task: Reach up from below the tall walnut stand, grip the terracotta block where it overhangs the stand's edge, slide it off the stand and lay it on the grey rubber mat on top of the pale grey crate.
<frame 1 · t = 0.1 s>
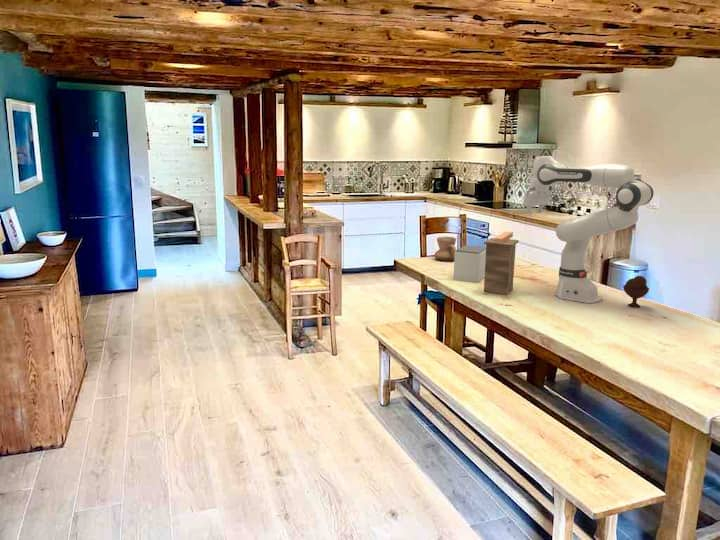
hand: (534, 213, 308), 39 cm above the table, tool pointing down, fingers open, 8 cm apart
terracotta block: (503, 239, 306), point 26 cm above the table, touching walnut stand
walnut stand: (498, 290, 308), on the table
ceramic jug: (446, 260, 381), on the table
ice cream bowl: (633, 306, 282), on the table
grey crate: (470, 277, 335), on the table
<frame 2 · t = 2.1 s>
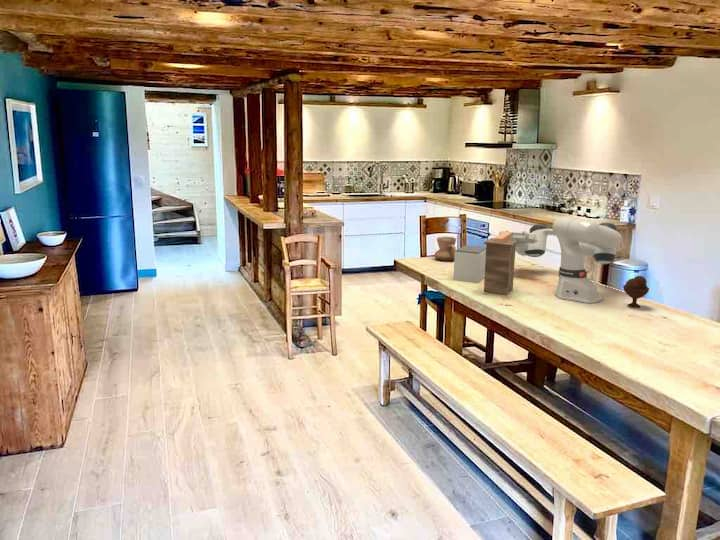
hand: (515, 231, 327), 26 cm above the table, tool pointing upward, fingers open, 8 cm apart
nothing on the table moved.
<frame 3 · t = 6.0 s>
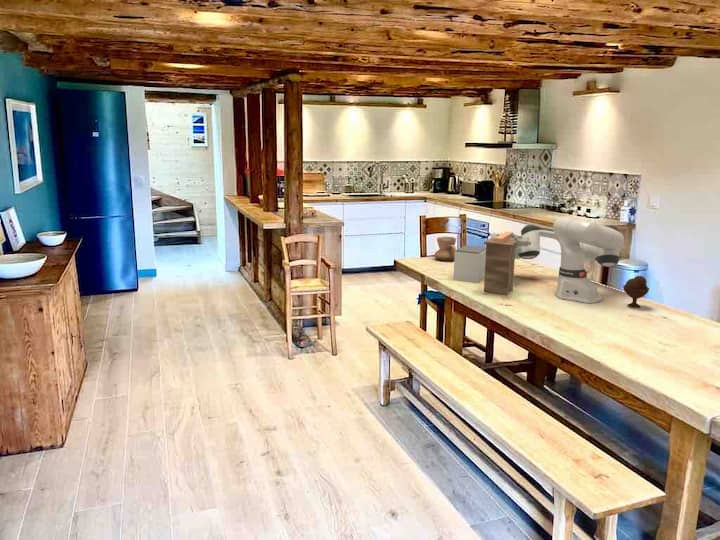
hand: (507, 234, 313), 28 cm above the table, tool pointing upward, fingers closed on terracotta block, 4 cm apart
terracotta block: (503, 239, 306), point 26 cm above the table, touching gripper, walnut stand
everything else where it was.
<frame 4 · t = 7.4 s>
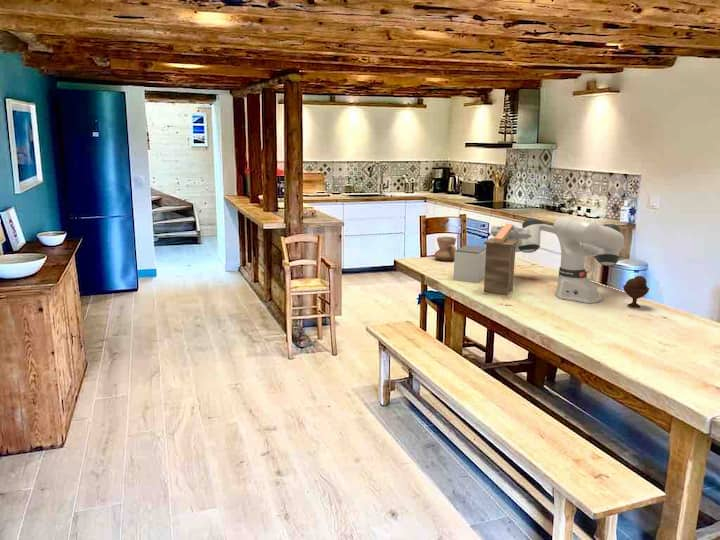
hand: (507, 226, 312), 32 cm above the table, tool pointing upward, fingers closed on terracotta block, 4 cm apart
terracotta block: (503, 235, 306), point 28 cm above the table, tilted 11°, touching gripper, walnut stand
everything else where it was.
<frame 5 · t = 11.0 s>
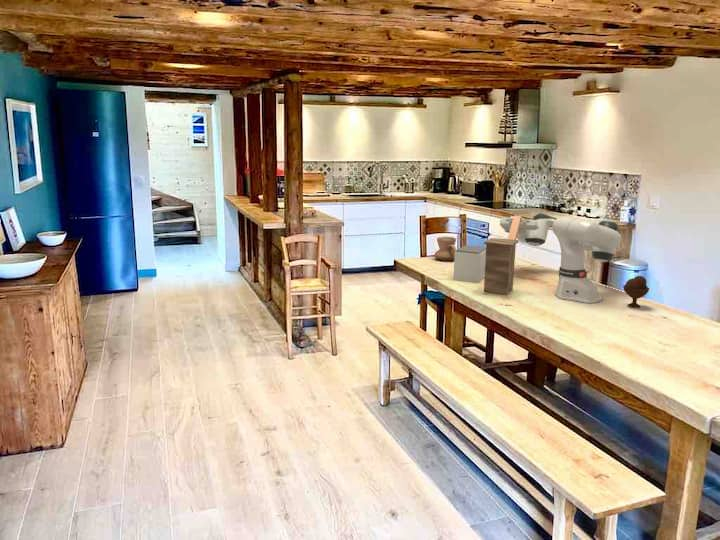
hand: (516, 218, 328), 34 cm above the table, tool pointing upward, fingers closed on terracotta block, 4 cm apart
terracotta block: (513, 234, 326), point 25 cm above the table, tilted 44°, touching gripper
everything else where it was.
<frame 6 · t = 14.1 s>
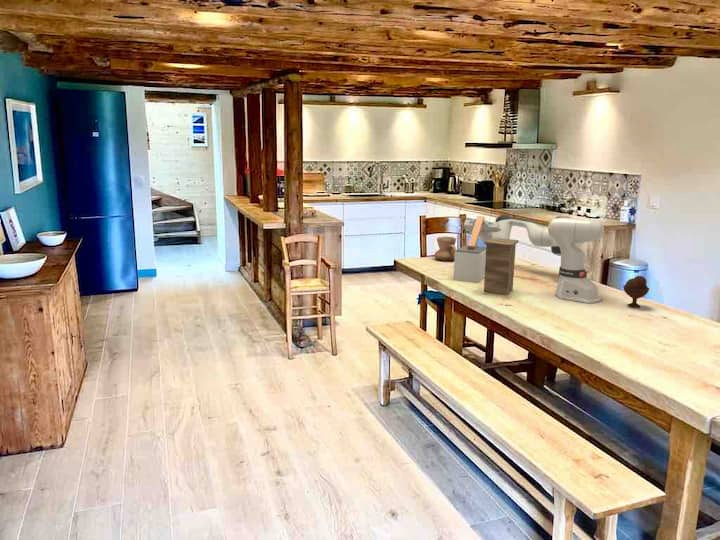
hand: (479, 220, 339), 31 cm above the table, tool pointing upward, fingers closed on terracotta block, 4 cm apart
terracotta block: (476, 233, 337), point 24 cm above the table, tilted 38°, touching grey crate, gripper
everything else where it was.
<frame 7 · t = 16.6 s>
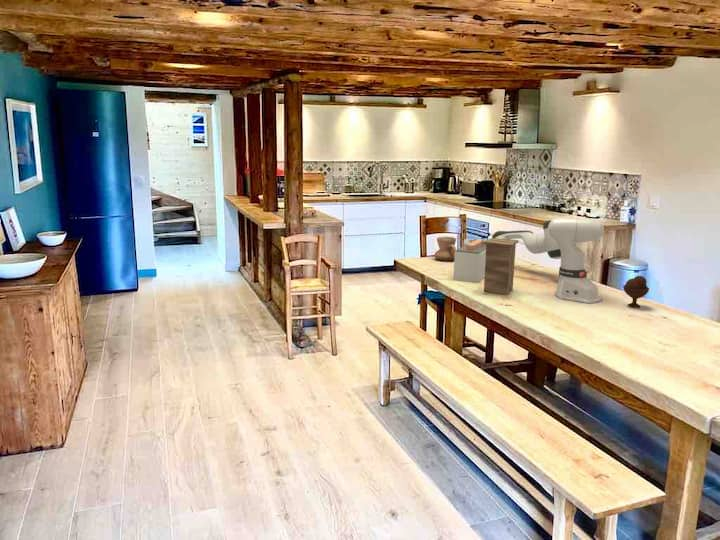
hand: (478, 239, 342), 20 cm above the table, tool pointing upward, fingers closed on terracotta block, 4 cm apart
terracotta block: (475, 246, 338), point 17 cm above the table, touching grey crate, gripper
everything else where it was.
when the fingers open (20 cm above the table, at t = 16.9 s): terracotta block stays where it is, resting on grey crate.
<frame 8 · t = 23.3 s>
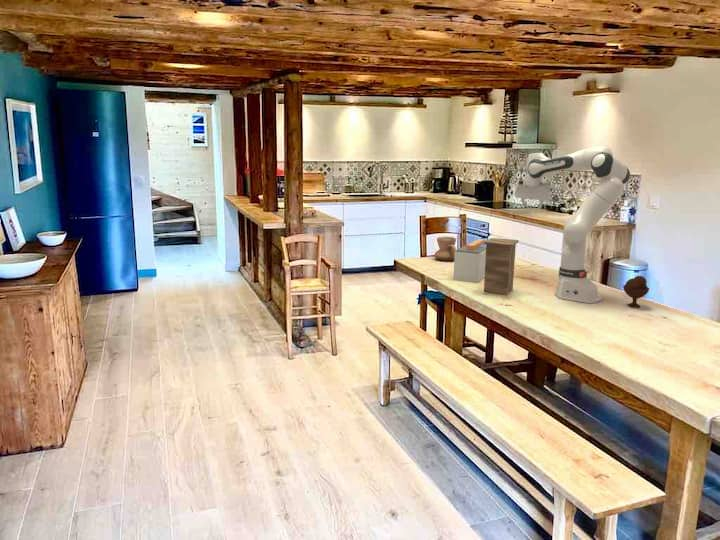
hand: (531, 207, 333), 39 cm above the table, tool pointing down, fingers open, 8 cm apart
terracotta block: (475, 246, 338), point 16 cm above the table, touching grey crate
everything else where it was.
at the end: terracotta block 7.6 cm from the grey crate (horizontally); terracotta block point 16.5 cm above the table; the gripper is holding nothing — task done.
